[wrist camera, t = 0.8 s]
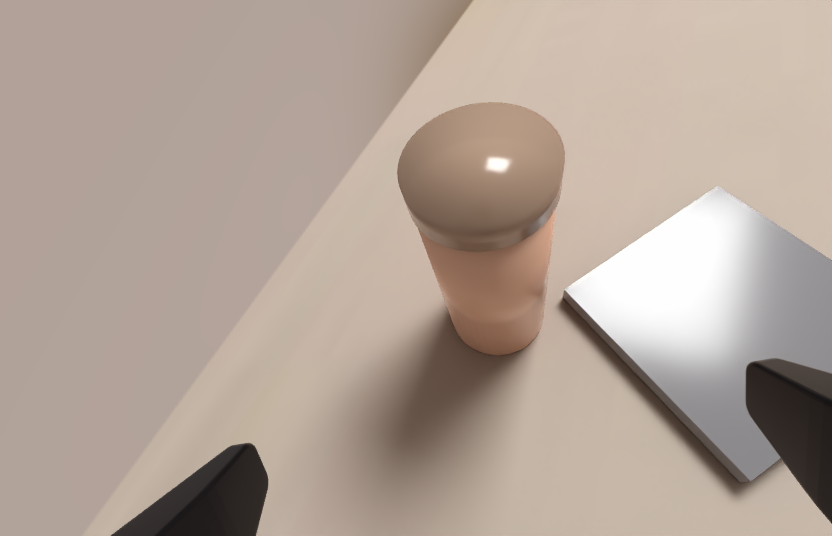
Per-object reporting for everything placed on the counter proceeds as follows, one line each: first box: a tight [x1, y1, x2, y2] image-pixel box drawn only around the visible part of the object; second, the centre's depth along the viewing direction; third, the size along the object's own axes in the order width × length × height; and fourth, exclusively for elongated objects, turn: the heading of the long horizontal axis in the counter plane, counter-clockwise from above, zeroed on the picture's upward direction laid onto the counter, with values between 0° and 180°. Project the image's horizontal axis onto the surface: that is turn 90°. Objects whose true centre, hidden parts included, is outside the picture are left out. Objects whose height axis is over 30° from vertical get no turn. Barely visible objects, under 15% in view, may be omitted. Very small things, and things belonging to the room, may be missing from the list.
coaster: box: [563, 186, 832, 483], centre depth 21 cm, size 11×11×1 cm
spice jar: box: [397, 102, 565, 355], centre depth 19 cm, size 5×5×12 cm
